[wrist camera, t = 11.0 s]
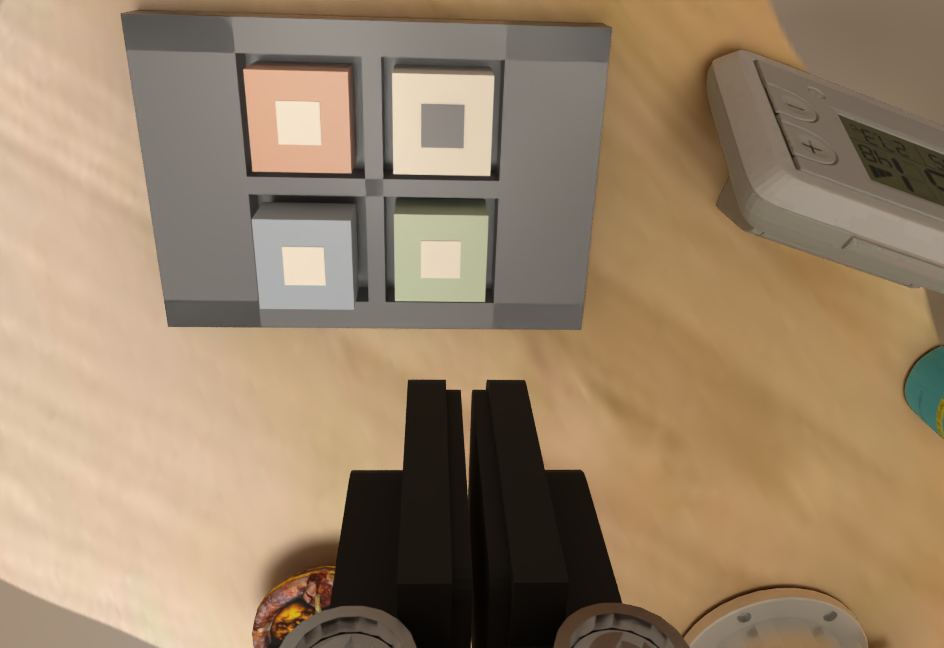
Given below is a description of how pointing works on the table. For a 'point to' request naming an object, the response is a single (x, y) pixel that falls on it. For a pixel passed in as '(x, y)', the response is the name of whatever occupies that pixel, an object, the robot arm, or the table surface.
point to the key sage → (440, 249)
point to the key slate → (306, 255)
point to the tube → (928, 389)
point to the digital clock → (829, 170)
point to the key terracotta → (301, 116)
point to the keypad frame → (369, 161)
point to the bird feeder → (292, 605)
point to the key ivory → (442, 120)
